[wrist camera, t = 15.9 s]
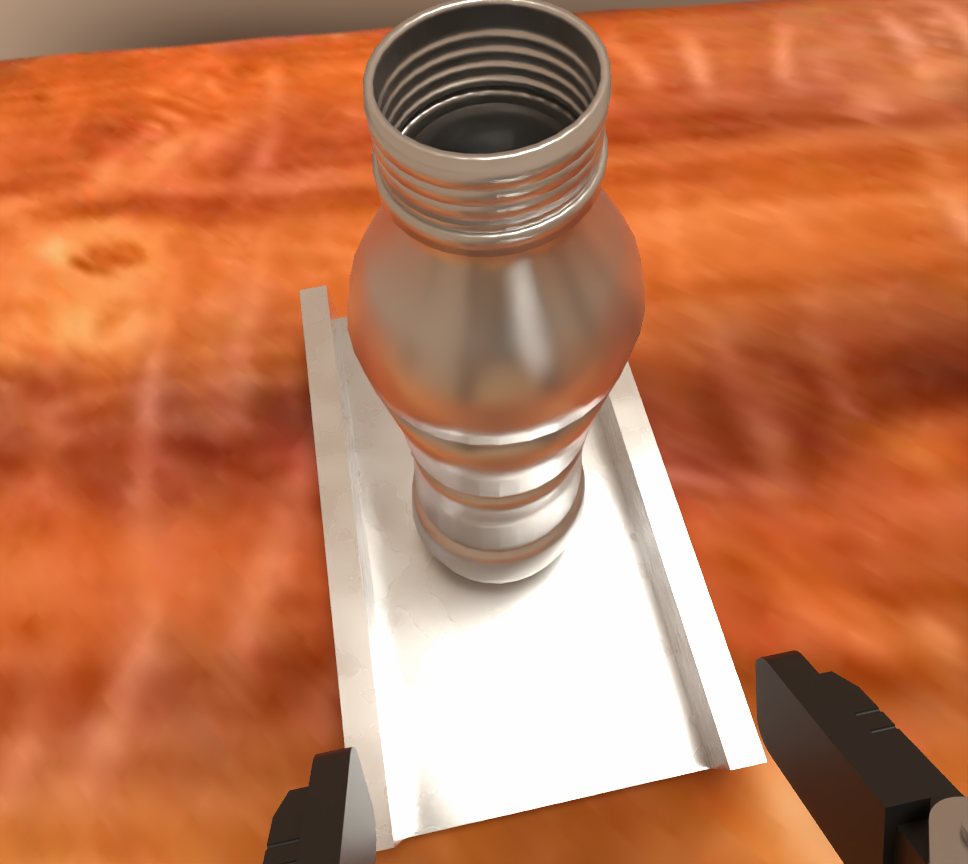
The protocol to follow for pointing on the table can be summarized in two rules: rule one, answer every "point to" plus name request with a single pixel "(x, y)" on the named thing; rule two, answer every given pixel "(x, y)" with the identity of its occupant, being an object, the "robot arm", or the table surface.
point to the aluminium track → (513, 626)
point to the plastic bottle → (493, 273)
